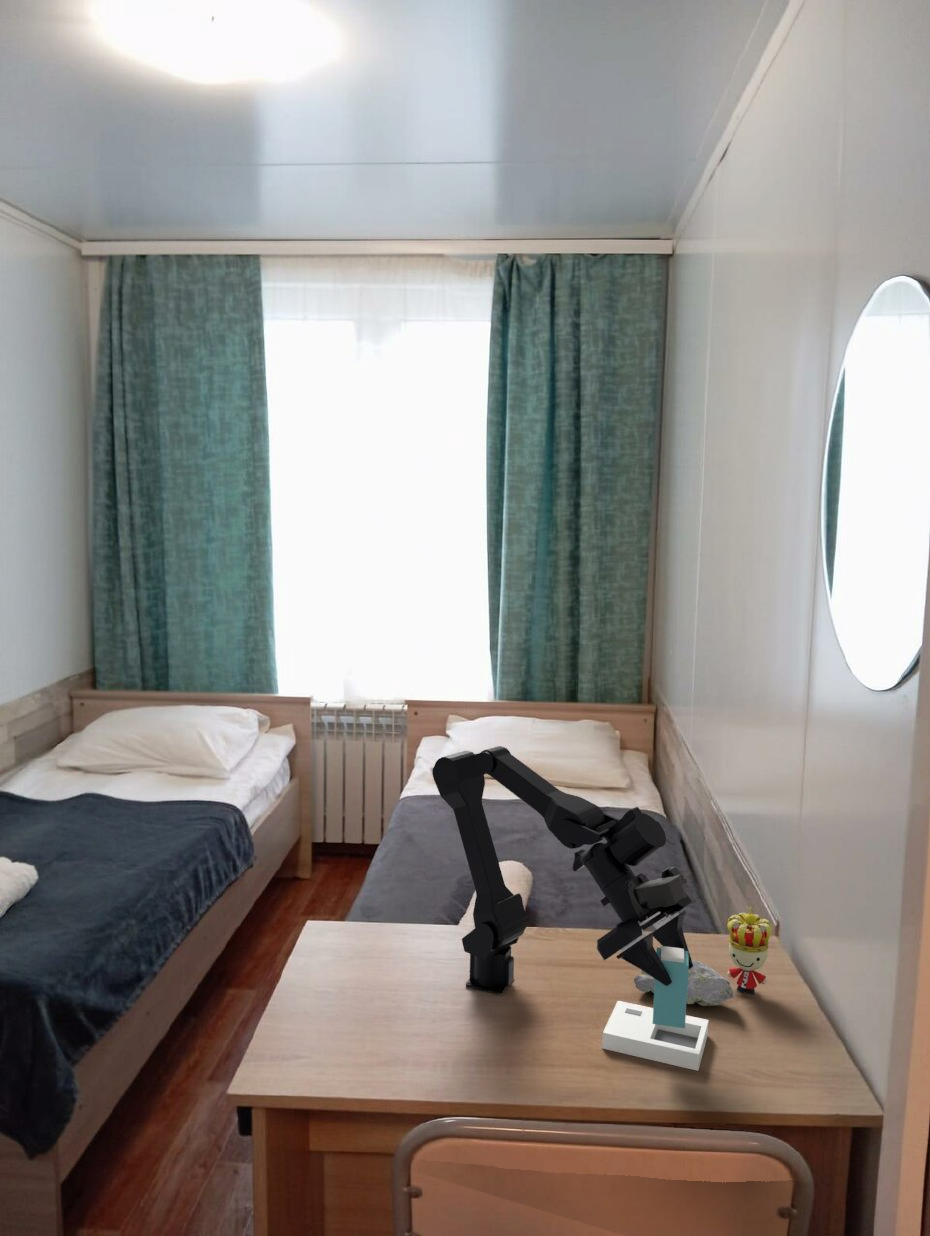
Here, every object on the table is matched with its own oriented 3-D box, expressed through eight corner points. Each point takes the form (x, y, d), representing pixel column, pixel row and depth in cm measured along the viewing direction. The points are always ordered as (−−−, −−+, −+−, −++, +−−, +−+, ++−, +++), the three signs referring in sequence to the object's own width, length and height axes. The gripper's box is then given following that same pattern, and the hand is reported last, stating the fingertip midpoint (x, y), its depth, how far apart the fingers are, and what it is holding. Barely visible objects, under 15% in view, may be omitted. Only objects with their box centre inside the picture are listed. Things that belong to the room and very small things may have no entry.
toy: (720, 996, 157) (725, 909, 155) (726, 976, 164) (731, 893, 162) (766, 1005, 154) (771, 917, 153) (769, 985, 161) (775, 900, 159)
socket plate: (602, 1048, 141) (602, 1031, 141) (617, 1015, 150) (617, 999, 150) (698, 1070, 136) (699, 1053, 136) (707, 1035, 145) (708, 1019, 145)
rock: (739, 999, 156) (741, 960, 156) (730, 1020, 150) (733, 979, 149) (645, 977, 163) (647, 940, 162) (634, 996, 157) (635, 957, 156)
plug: (652, 1023, 136) (656, 957, 135) (653, 1007, 140) (656, 943, 139) (684, 1028, 135) (688, 961, 134) (684, 1011, 139) (688, 947, 138)
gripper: (619, 872, 130) (688, 975, 125) (683, 837, 144) (748, 929, 139) (569, 909, 136) (632, 1010, 131) (635, 873, 150) (695, 962, 145)
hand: (680, 976), depth 136 cm, fingers closed on plug, 6 cm apart
